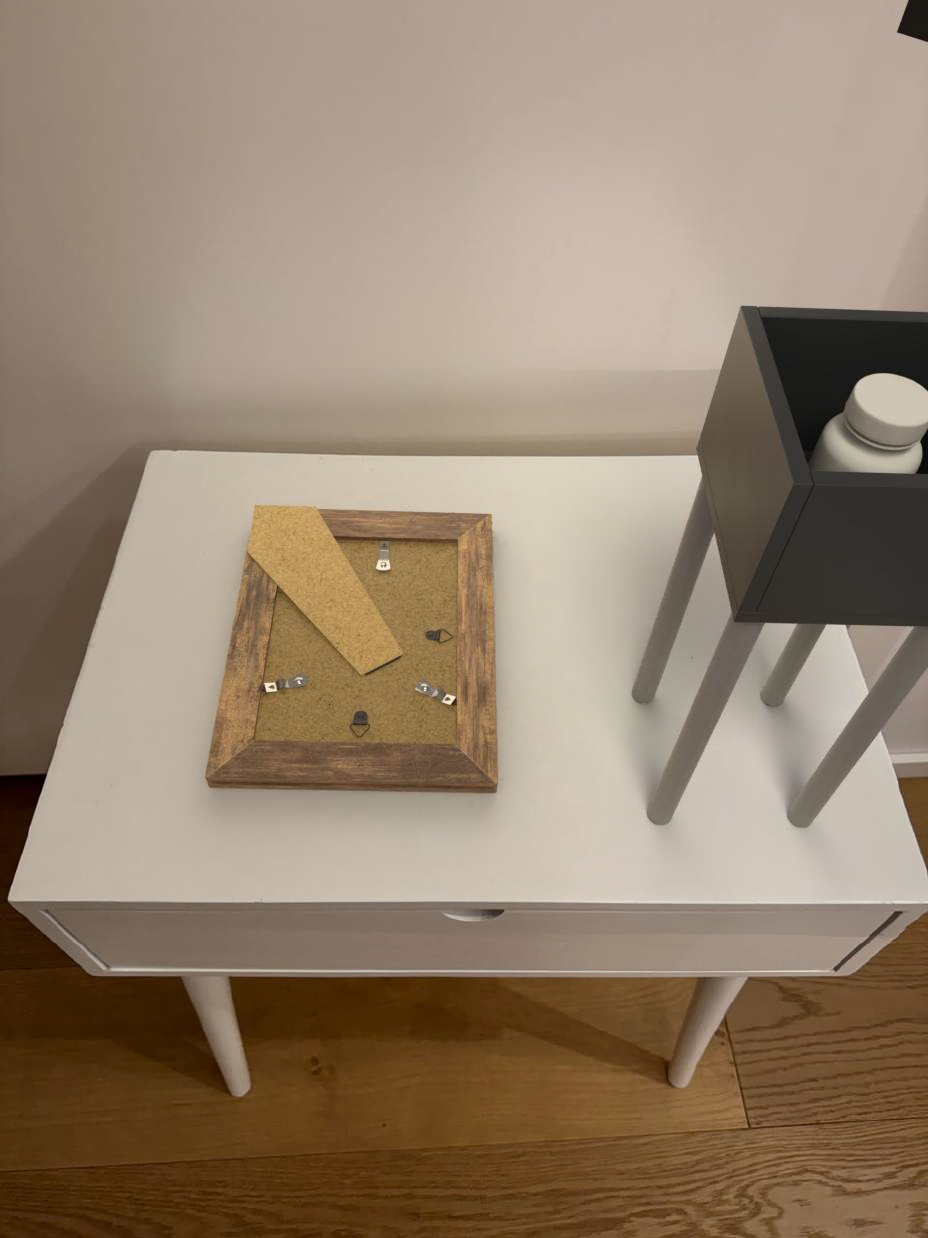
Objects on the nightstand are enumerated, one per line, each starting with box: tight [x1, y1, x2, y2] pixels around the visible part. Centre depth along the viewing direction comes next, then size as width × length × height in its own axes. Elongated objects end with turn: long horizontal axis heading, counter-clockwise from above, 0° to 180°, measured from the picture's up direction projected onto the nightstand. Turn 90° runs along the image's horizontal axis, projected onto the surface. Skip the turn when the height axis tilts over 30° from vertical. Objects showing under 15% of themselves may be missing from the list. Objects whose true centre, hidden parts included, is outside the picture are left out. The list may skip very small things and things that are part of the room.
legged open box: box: [631, 305, 928, 829], centre depth 52 cm, size 12×12×31 cm
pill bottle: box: [807, 373, 928, 474], centre depth 43 cm, size 4×4×8 cm
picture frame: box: [204, 504, 499, 794], centre depth 68 cm, size 19×2×24 cm
